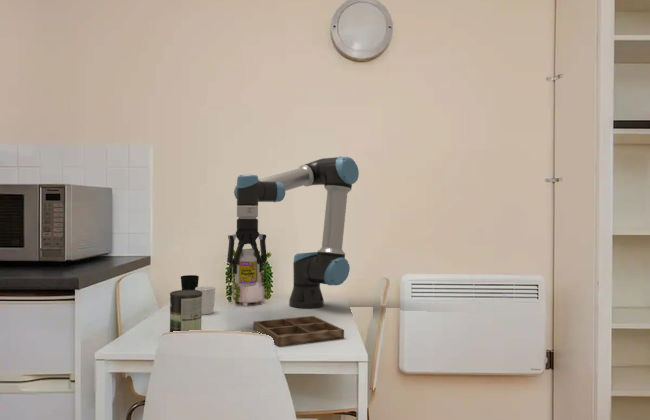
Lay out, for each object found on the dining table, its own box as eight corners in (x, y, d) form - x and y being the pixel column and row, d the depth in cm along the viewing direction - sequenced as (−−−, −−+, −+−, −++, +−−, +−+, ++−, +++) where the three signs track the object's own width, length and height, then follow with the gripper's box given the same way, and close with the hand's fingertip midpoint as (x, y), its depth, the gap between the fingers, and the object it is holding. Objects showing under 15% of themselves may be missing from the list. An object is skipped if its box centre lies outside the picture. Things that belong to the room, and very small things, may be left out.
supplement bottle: (238, 287, 172) (238, 250, 172) (237, 284, 178) (237, 248, 178) (257, 286, 173) (257, 250, 173) (255, 283, 180) (255, 248, 180)
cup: (190, 301, 220) (191, 274, 220) (202, 303, 216) (202, 276, 216) (176, 303, 214) (177, 276, 214) (188, 306, 210) (188, 278, 210)
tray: (313, 323, 181) (313, 315, 181) (343, 338, 160) (344, 329, 160) (253, 329, 170) (253, 321, 170) (278, 346, 150) (278, 337, 150)
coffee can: (164, 338, 157) (165, 294, 157) (175, 330, 167) (176, 289, 167) (196, 339, 157) (197, 295, 157) (205, 331, 167) (206, 290, 167)
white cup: (200, 315, 191) (200, 290, 191) (191, 312, 197) (191, 287, 197) (218, 313, 196) (218, 288, 196) (209, 310, 202) (209, 285, 202)
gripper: (223, 218, 168) (223, 285, 168) (276, 218, 177) (276, 282, 177) (217, 218, 174) (217, 282, 175) (269, 217, 183) (269, 279, 184)
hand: (247, 282), depth 176 cm, fingers closed on supplement bottle, 7 cm apart
